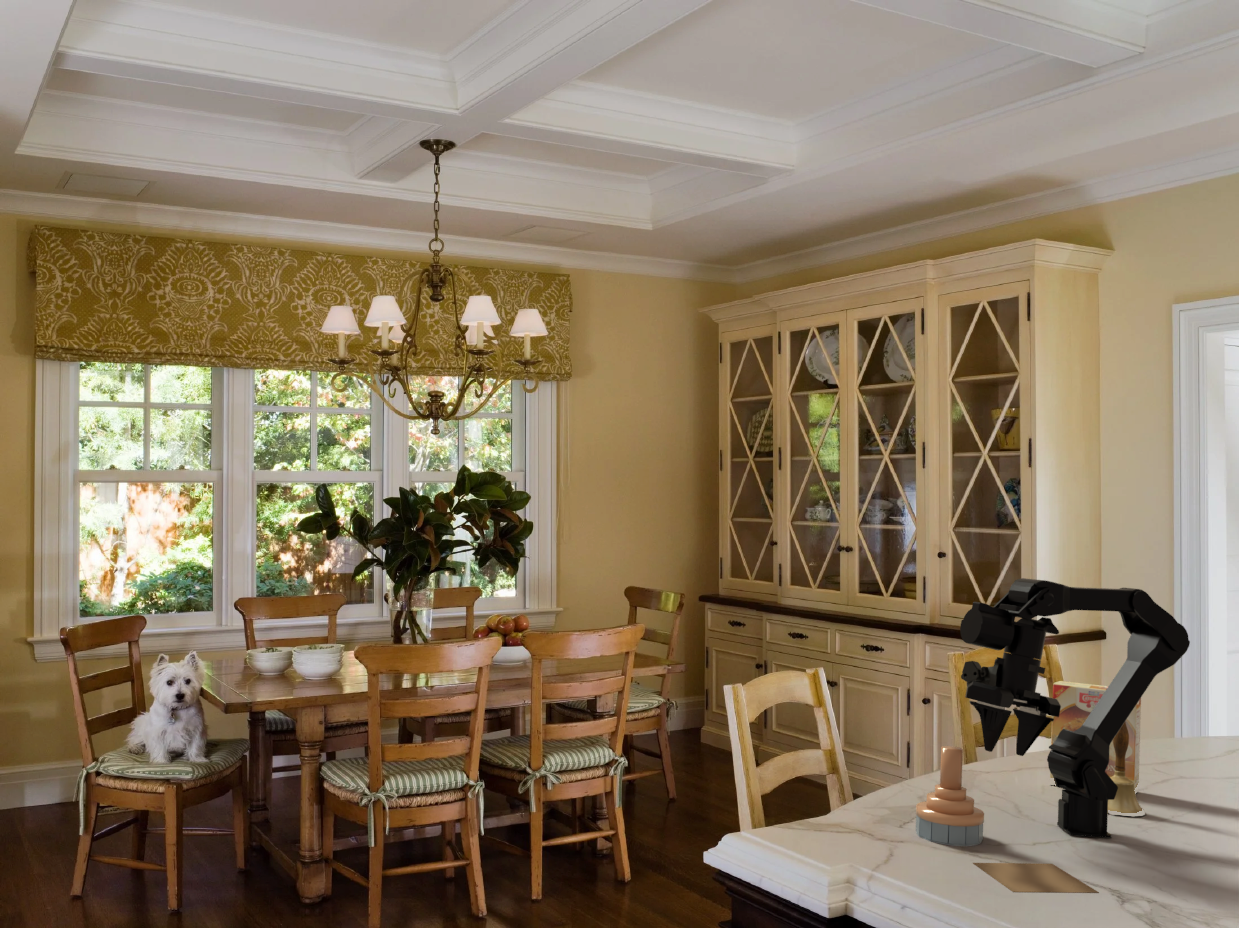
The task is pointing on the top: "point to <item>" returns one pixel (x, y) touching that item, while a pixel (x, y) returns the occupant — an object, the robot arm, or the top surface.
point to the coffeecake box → (1076, 710)
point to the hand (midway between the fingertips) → (1004, 753)
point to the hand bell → (1123, 777)
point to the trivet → (1034, 878)
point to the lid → (950, 795)
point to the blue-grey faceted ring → (949, 833)
